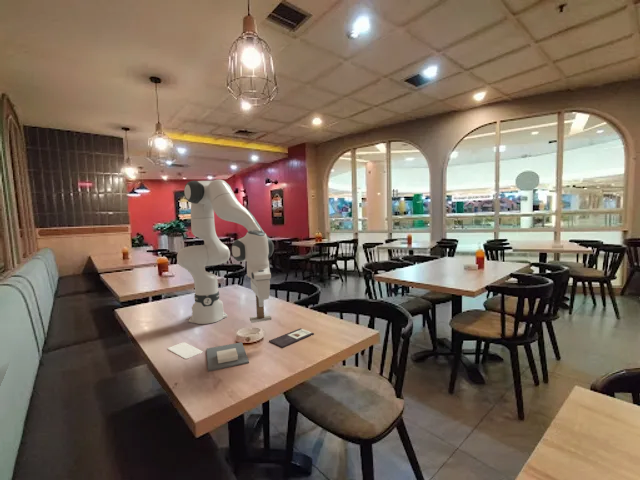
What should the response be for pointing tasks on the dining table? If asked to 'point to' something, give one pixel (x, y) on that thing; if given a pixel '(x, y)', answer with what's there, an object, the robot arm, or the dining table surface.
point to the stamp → (260, 314)
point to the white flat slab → (185, 350)
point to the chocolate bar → (291, 338)
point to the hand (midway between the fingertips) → (260, 305)
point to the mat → (214, 364)
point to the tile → (227, 355)
